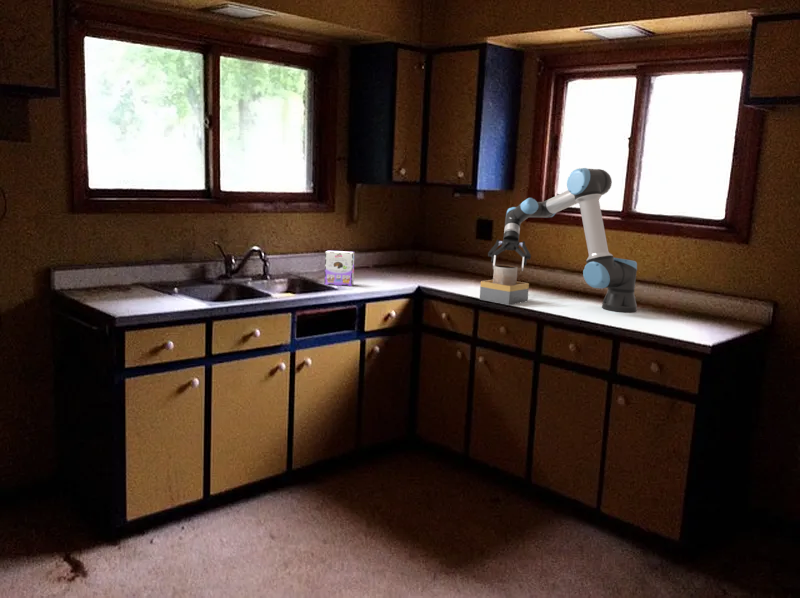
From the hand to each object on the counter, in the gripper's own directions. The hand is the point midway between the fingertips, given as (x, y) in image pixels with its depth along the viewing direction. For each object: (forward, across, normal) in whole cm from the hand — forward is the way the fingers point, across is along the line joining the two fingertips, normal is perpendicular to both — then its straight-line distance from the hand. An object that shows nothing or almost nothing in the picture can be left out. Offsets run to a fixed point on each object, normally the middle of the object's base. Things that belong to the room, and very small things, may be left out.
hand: (508, 268), depth 354 cm
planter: (+13, +1, +2) cm, 13 cm away
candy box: (+13, +82, -6) cm, 83 cm away
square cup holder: (+18, +1, -2) cm, 18 cm away
